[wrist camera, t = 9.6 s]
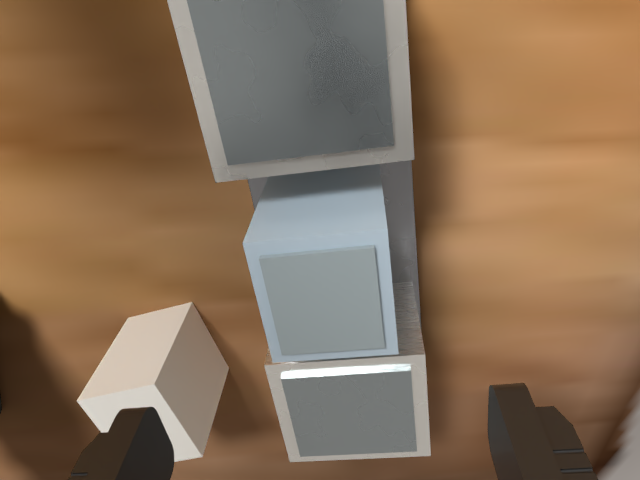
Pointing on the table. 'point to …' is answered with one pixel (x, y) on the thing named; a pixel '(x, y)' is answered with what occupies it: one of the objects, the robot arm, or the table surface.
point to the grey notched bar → (316, 155)
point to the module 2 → (323, 265)
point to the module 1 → (161, 377)
